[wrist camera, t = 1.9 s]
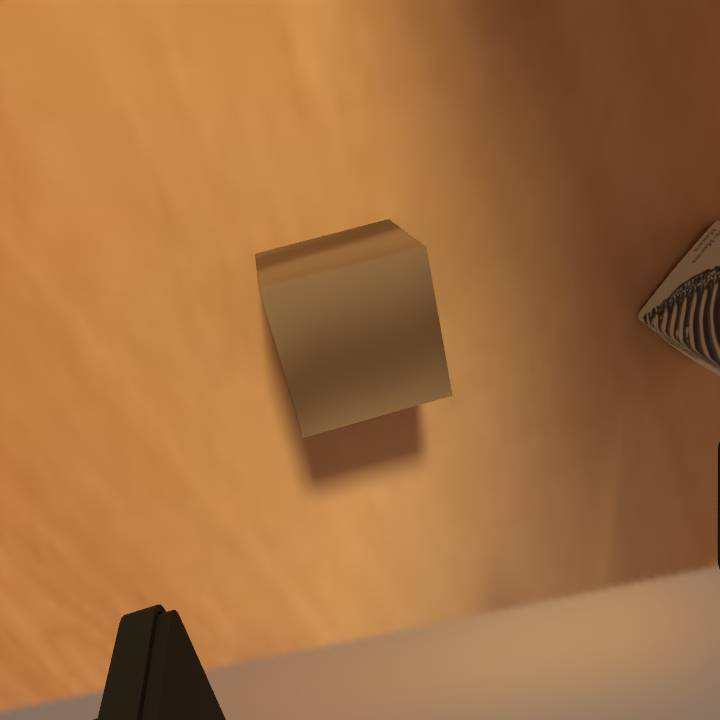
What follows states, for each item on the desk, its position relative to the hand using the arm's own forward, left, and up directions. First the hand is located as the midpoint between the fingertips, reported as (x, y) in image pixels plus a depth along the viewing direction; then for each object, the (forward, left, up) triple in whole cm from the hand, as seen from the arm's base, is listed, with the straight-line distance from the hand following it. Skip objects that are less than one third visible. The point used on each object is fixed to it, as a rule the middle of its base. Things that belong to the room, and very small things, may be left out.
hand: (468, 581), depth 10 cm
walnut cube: (0, 0, -15) cm, 15 cm away
